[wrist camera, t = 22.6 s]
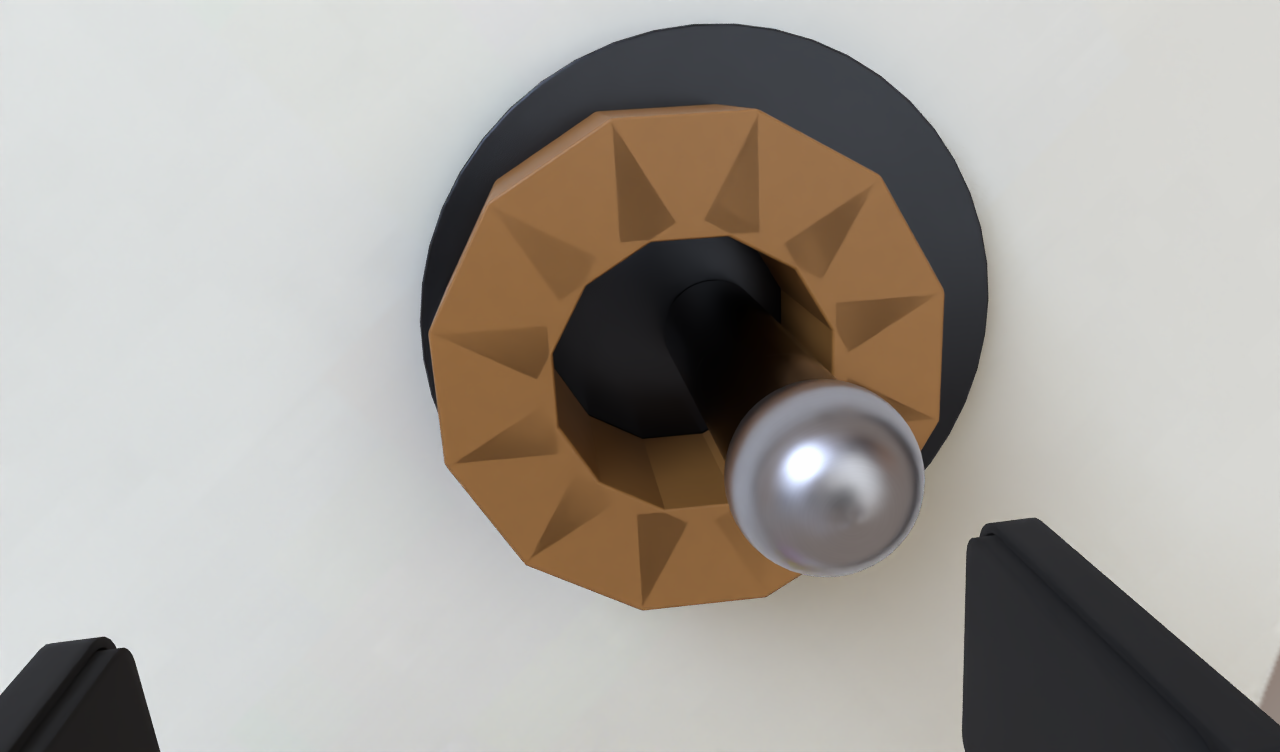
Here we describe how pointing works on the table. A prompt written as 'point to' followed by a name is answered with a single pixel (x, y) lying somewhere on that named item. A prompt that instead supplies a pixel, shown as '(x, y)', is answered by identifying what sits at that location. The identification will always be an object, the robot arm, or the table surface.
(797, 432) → the stand
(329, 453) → the table surface
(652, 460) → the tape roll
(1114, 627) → the robot arm
